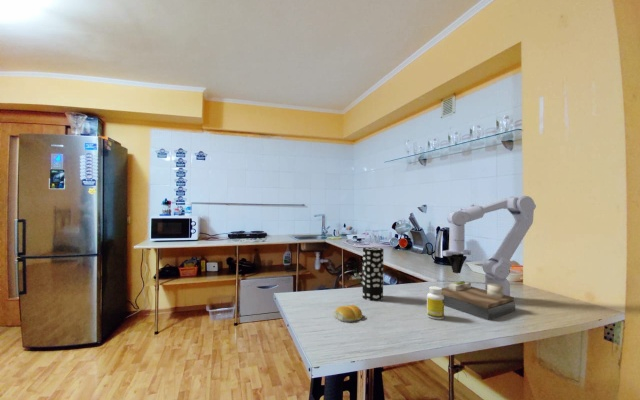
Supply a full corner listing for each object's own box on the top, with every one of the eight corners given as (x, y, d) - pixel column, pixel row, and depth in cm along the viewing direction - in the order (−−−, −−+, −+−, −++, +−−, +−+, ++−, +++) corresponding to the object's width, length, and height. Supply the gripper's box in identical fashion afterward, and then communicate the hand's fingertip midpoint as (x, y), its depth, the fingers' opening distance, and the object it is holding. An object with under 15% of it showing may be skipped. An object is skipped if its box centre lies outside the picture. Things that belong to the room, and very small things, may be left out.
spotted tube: (367, 293, 120) (368, 246, 121) (386, 297, 116) (386, 248, 116) (358, 298, 114) (359, 248, 114) (377, 302, 109) (378, 250, 110)
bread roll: (366, 319, 93) (367, 306, 93) (345, 324, 88) (345, 312, 88) (350, 311, 100) (351, 299, 100) (330, 316, 95) (330, 304, 95)
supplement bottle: (445, 320, 92) (445, 290, 92) (428, 319, 93) (428, 289, 93) (442, 314, 97) (442, 286, 97) (425, 313, 98) (425, 285, 98)
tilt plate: (462, 287, 119) (462, 274, 120) (513, 300, 102) (513, 286, 102) (436, 292, 111) (436, 279, 111) (488, 308, 94) (488, 292, 94)
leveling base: (460, 295, 120) (460, 286, 120) (515, 311, 102) (515, 301, 102) (433, 301, 111) (433, 292, 111) (488, 320, 92) (488, 309, 93)
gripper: (452, 241, 110) (452, 276, 110) (477, 240, 116) (477, 273, 116) (438, 239, 117) (437, 272, 116) (462, 238, 122) (462, 270, 122)
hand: (456, 272), depth 116 cm, fingers closed
